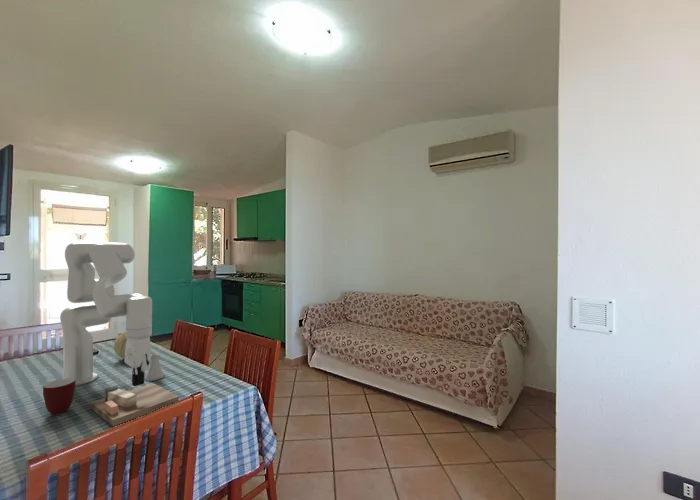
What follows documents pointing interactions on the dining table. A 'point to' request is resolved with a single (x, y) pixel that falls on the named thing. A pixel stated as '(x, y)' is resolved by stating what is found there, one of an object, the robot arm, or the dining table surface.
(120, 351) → the cantaloupe
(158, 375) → the flask
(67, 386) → the mug
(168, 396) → the stool seat board
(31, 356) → the dining table surface
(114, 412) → the leg stop
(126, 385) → the dining table surface
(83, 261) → the robot arm
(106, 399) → the folding leg
